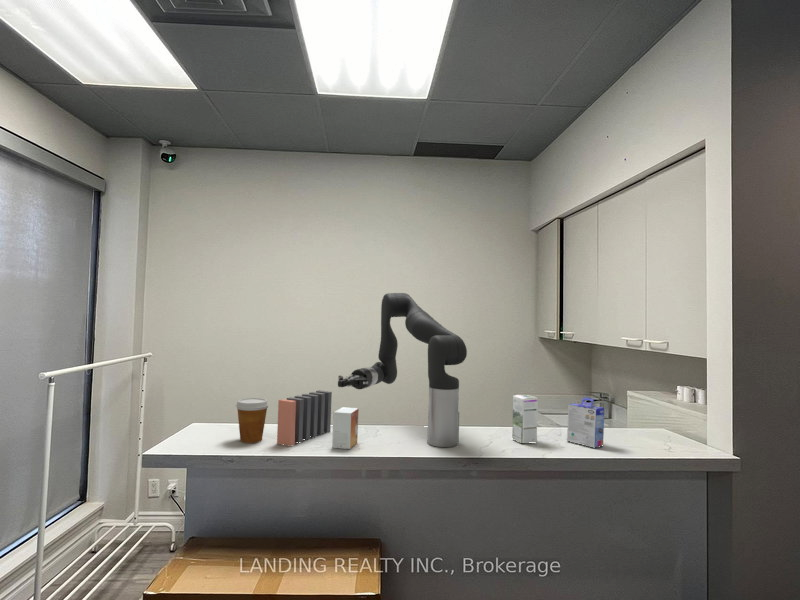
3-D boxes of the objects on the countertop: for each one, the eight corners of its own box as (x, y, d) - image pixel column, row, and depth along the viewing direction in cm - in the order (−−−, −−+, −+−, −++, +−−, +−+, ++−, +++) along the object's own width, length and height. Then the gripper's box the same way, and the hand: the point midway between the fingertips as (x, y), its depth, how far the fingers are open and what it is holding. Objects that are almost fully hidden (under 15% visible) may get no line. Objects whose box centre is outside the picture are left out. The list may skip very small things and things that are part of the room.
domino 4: (303, 434, 157) (305, 393, 157) (316, 436, 155) (318, 395, 155) (300, 435, 155) (301, 394, 156) (313, 437, 153) (315, 396, 153)
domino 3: (296, 437, 154) (298, 395, 154) (309, 439, 151) (311, 397, 152) (293, 438, 152) (294, 396, 152) (306, 440, 150) (307, 397, 150)
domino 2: (288, 439, 150) (290, 397, 150) (302, 442, 148) (303, 398, 148) (285, 441, 149) (286, 398, 149) (298, 443, 146) (300, 399, 147)
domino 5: (310, 431, 160) (312, 391, 161) (323, 433, 158) (325, 393, 159) (307, 433, 159) (309, 392, 159) (320, 435, 157) (322, 394, 157)
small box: (350, 449, 142) (351, 413, 142) (331, 448, 143) (332, 411, 143) (358, 442, 150) (359, 407, 150) (340, 441, 151) (341, 406, 151)
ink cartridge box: (604, 446, 154) (605, 400, 154) (595, 449, 150) (596, 402, 151) (575, 439, 162) (576, 395, 162) (566, 442, 158) (567, 396, 158)
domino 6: (317, 429, 164) (319, 390, 164) (330, 431, 162) (331, 391, 162) (314, 430, 162) (315, 391, 162) (327, 432, 160) (328, 392, 160)
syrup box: (537, 443, 155) (538, 397, 155) (521, 445, 153) (523, 398, 153) (526, 438, 160) (527, 394, 160) (511, 440, 158) (512, 394, 158)
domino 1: (280, 442, 147) (282, 399, 147) (294, 445, 145) (296, 401, 145) (276, 444, 145) (278, 400, 145) (290, 446, 143) (292, 401, 143)
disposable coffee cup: (228, 443, 144) (229, 402, 145) (244, 435, 154) (245, 396, 154) (258, 446, 143) (260, 404, 143) (272, 437, 152) (274, 398, 152)
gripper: (349, 366, 190) (324, 371, 174) (380, 369, 184) (356, 375, 169) (349, 385, 190) (323, 392, 174) (379, 389, 184) (355, 397, 169)
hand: (340, 384), depth 172 cm, fingers closed
